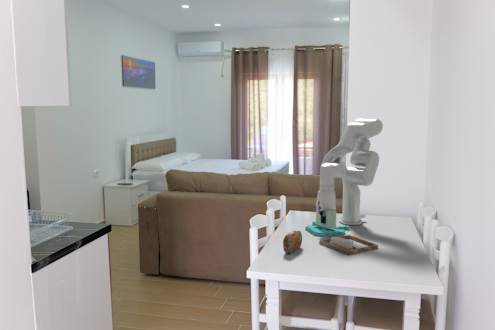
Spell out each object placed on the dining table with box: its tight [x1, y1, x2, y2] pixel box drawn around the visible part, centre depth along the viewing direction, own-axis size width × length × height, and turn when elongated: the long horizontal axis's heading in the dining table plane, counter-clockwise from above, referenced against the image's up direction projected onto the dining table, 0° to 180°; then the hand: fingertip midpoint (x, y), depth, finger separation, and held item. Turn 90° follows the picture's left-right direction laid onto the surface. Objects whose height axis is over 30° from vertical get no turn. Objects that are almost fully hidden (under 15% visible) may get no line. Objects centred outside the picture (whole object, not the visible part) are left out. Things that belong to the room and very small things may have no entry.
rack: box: [318, 234, 379, 256], centre depth 203 cm, size 19×19×2 cm
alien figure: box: [305, 220, 350, 237], centre depth 227 cm, size 20×2×20 cm
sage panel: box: [315, 209, 337, 229], centre depth 226 cm, size 3×12×9 cm, turn 32°
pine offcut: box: [329, 241, 354, 251], centre depth 201 cm, size 3×12×2 cm, turn 32°
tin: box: [282, 230, 303, 254], centre depth 196 cm, size 15×3×8 cm, turn 148°
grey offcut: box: [330, 235, 354, 248], centre depth 200 cm, size 3×10×2 cm, turn 47°
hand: (325, 222), depth 227 cm, fingers closed on sage panel, 3 cm apart
